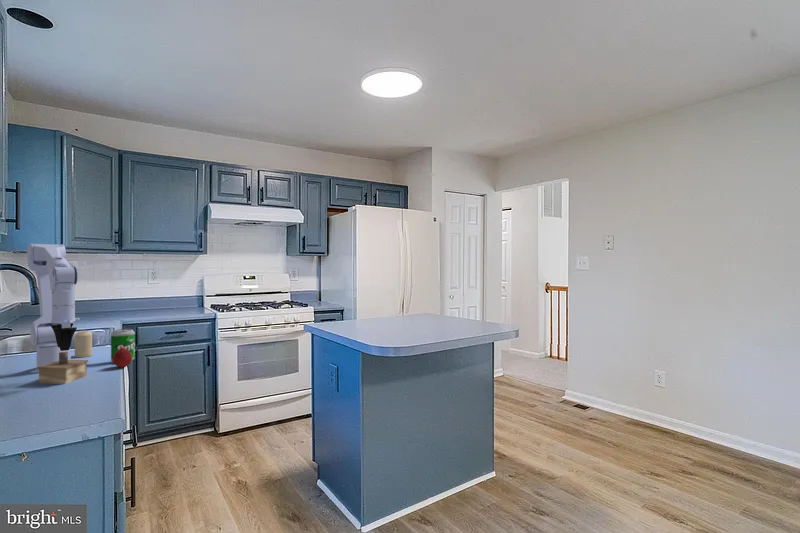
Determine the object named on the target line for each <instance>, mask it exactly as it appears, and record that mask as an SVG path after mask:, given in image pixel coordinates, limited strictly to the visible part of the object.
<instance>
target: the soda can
mask: <svg viewBox="0 0 800 533" xmlns="http://www.w3.org/2000/svg"><path fill="white" fill-rule="evenodd" d="M135 335H136V332H135V331H134V329H132V328H121V329H120V328H118V329H114V330H113V331H112V332H111V334H110V361H111V362H112V363H113V360H112V359H113V356H114V354H115V353H116V352H117V351H118V350H119V349H120V348H121V346H123V347H124V348H125V349H127V350H129V352H130V353H131V354H132V361H131V363H132V362H133V361H134V360H135V356H136V353H135V352H136V350H135V346H136V344H135V343H136V339H135V338H136V336H135Z"/></svg>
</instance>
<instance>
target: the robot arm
mask: <svg viewBox="0 0 800 533" xmlns="http://www.w3.org/2000/svg"><path fill="white" fill-rule="evenodd" d="M26 248H27V251H26V254H27V266H28V269H29V270H31V271H33V272H35V276H36V278H37V290H38V302H39V314H40V317H39V318H37V319H36V320H33V322H32V323H31V324H30V344H31V345H32V346H35V347H36V369H35V370H32V371H30V373H34V374H35V373H38V374H39V369H37V367H39V366H43V365H46V364H49V363H53V362H56V361H59V353H60V352H68V360H72V359H71V358H72V351H71V345H72V341H73V337H74V336H75V333H76V332H77V328H78V327H76V326H75V327H73V326H74V322H79V321H80V320H81V319H80V317H76V313H75V312H76V285H77V283H78V280H79V278H78V276H79V275H78V274H79V273H78V268H77V267H76V266H74V265H73V266H71V265H70V263H69V262H68V260H67V259H66V257H67V256H66V255H67V254H66V250H67V249H66V247H65V245H64V244H51V243H50V244H49V243H45V244H44V243H33V242H31V243H29V244H28V245H27V247H26Z"/></svg>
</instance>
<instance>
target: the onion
mask: <svg viewBox="0 0 800 533" xmlns="http://www.w3.org/2000/svg"><path fill="white" fill-rule="evenodd" d="M112 360H113V362H112V363H113V365H114V366H117V367H118V368H120V369H123V368H126V367H127V366H129V365H130V364H131V363H132V362H133V360H132V354H131V353H130V352H129V350H127V349H125V348H124V347H123V346H121V348H120V349H119V350H118V351H117V352H116V353H115V354H114V356H113V359H112ZM131 361H132V362H131Z"/></svg>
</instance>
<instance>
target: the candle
mask: <svg viewBox="0 0 800 533" xmlns="http://www.w3.org/2000/svg"><path fill="white" fill-rule="evenodd" d="M88 356H89V357H92V356H93V333H92V332H90V331H88V330H80V331H78V332H76V334H74V357H75V358H87V357H88ZM89 357H88V358H89Z"/></svg>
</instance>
